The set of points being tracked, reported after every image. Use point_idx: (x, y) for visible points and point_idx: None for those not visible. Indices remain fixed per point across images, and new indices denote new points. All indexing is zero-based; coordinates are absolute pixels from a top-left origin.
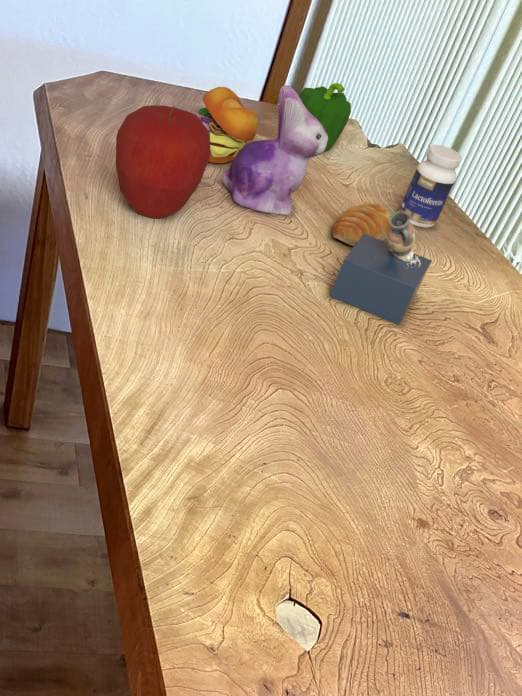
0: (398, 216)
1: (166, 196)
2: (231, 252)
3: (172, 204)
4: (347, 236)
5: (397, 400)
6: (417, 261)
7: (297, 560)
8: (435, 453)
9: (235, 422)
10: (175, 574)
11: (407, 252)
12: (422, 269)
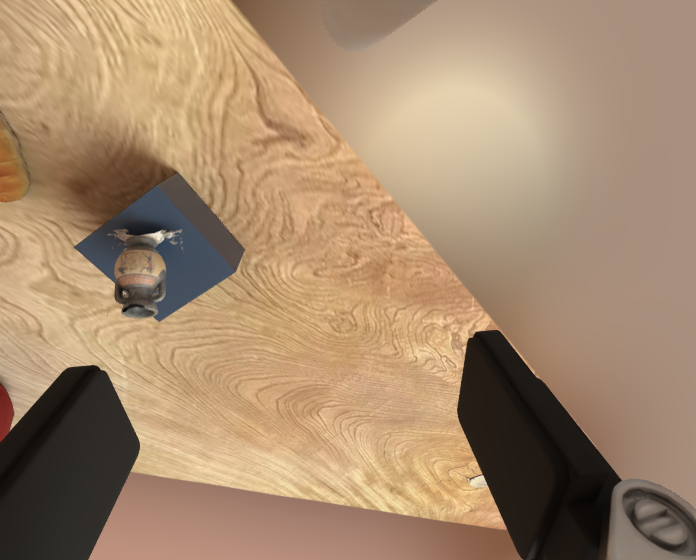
0: (128, 307)
1: (7, 429)
2: (78, 350)
3: (8, 411)
4: (21, 198)
5: (361, 336)
6: (173, 232)
7: (454, 467)
8: (428, 348)
9: (342, 451)
10: (430, 509)
11: (154, 243)
12: (186, 225)
